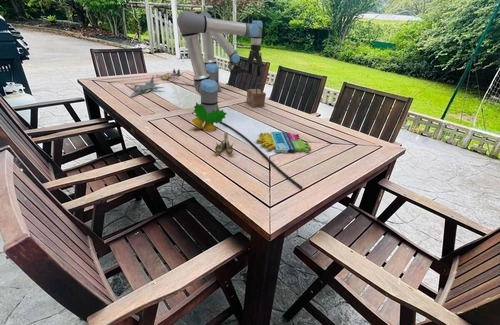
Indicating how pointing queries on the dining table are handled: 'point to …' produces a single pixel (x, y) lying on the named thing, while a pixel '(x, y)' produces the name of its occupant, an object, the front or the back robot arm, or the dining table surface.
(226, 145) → the jawbone
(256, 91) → the lid
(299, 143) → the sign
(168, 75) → the toy
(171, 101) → the dining table surface
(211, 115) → the ornament
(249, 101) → the chest
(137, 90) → the airplane
